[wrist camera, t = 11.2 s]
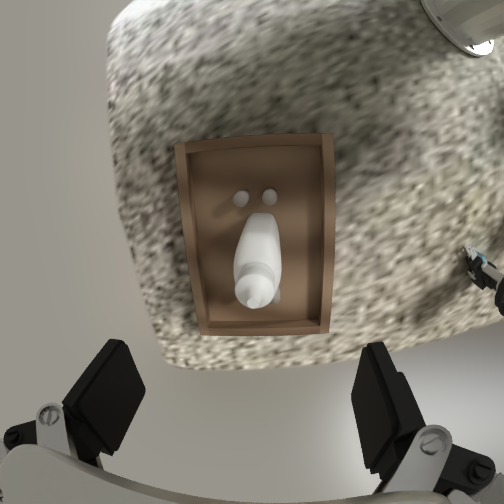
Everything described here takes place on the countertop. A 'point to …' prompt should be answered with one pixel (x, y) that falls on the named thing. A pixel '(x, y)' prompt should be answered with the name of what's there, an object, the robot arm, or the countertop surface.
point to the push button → (486, 276)
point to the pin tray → (235, 217)
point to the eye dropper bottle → (258, 261)
